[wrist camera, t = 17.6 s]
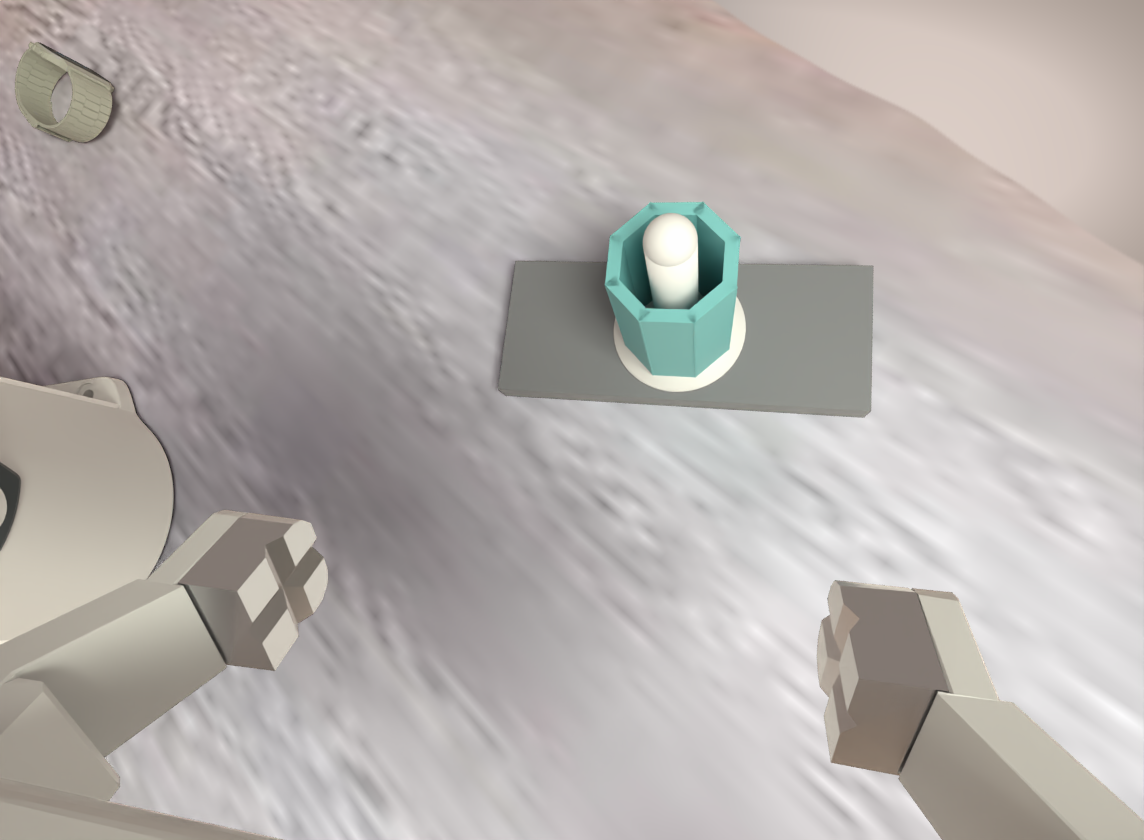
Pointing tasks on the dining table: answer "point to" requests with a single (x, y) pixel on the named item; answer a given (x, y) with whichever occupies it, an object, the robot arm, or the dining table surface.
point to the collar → (675, 334)
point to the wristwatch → (35, 93)
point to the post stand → (761, 318)
